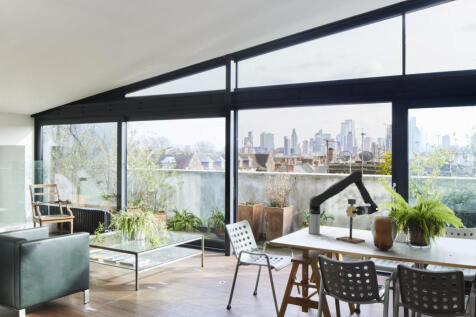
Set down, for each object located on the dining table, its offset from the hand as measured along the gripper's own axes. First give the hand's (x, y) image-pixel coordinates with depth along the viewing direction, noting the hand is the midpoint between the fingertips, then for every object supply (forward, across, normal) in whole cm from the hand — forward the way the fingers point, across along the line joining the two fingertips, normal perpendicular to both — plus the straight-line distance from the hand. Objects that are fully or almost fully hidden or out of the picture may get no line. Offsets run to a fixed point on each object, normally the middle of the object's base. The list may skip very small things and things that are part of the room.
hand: (349, 211), depth 342 cm
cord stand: (-3, 0, +24) cm, 24 cm away
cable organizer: (-39, +26, +24) cm, 53 cm away
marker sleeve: (-3, 0, +4) cm, 5 cm away
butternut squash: (+7, +34, +24) cm, 43 cm away
